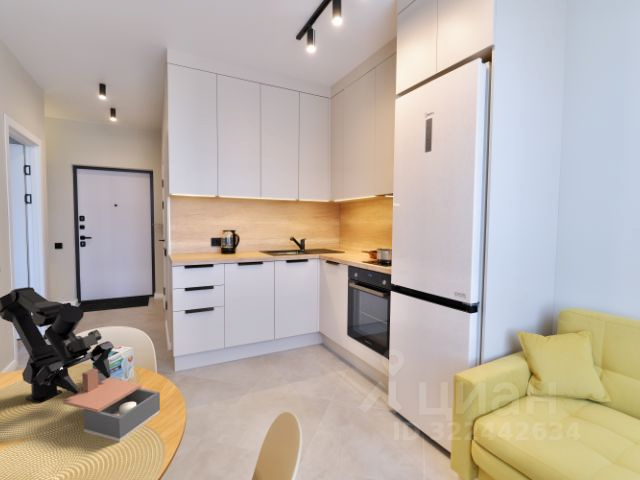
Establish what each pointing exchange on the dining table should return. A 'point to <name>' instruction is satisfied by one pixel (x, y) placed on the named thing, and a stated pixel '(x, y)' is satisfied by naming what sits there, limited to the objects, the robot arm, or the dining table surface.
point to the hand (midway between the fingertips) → (94, 384)
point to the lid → (100, 392)
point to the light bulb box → (119, 364)
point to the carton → (123, 415)
